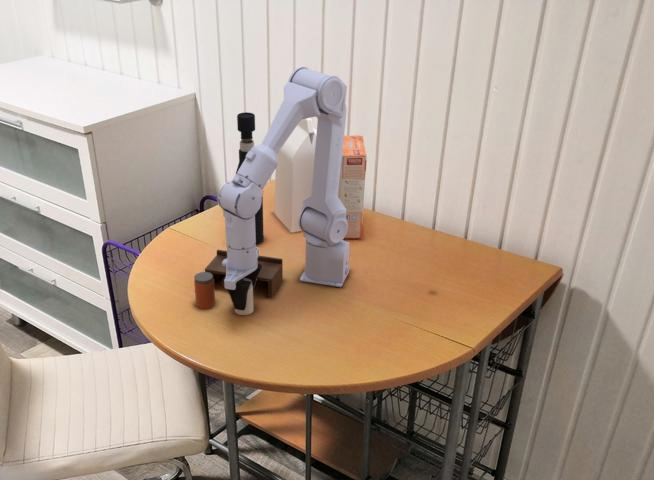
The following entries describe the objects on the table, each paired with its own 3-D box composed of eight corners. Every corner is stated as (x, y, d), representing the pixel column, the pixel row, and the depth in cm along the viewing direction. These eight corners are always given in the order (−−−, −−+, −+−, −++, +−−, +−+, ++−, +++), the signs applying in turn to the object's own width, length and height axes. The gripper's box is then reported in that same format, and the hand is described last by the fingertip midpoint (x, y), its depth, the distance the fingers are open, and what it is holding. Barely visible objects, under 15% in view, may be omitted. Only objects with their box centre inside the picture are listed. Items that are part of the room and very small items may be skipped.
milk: (273, 213, 190) (272, 111, 175) (314, 206, 194) (316, 106, 179) (291, 232, 181) (291, 127, 166) (334, 225, 185) (337, 120, 170)
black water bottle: (268, 238, 179) (266, 113, 161) (253, 248, 174) (249, 121, 157) (247, 231, 182) (242, 108, 164) (231, 241, 177) (225, 116, 160)
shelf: (282, 281, 162) (282, 258, 159) (272, 298, 156) (271, 275, 153) (218, 271, 165) (217, 249, 162) (206, 287, 160) (204, 265, 156)
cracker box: (362, 239, 178) (367, 155, 166) (337, 239, 178) (340, 155, 166) (359, 215, 189) (363, 134, 177) (335, 215, 190) (338, 134, 177)
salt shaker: (256, 306, 153) (255, 279, 149) (250, 316, 150) (248, 288, 146) (238, 303, 154) (237, 276, 150) (231, 313, 151) (229, 285, 147)
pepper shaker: (218, 300, 155) (216, 273, 151) (211, 310, 152) (209, 282, 148) (200, 297, 156) (198, 270, 152) (193, 307, 153) (190, 279, 149)
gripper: (234, 225, 150) (237, 283, 158) (207, 257, 139) (212, 318, 146) (267, 229, 148) (269, 288, 156) (243, 262, 137) (245, 323, 145)
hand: (243, 303), depth 151 cm, fingers closed on salt shaker, 4 cm apart
